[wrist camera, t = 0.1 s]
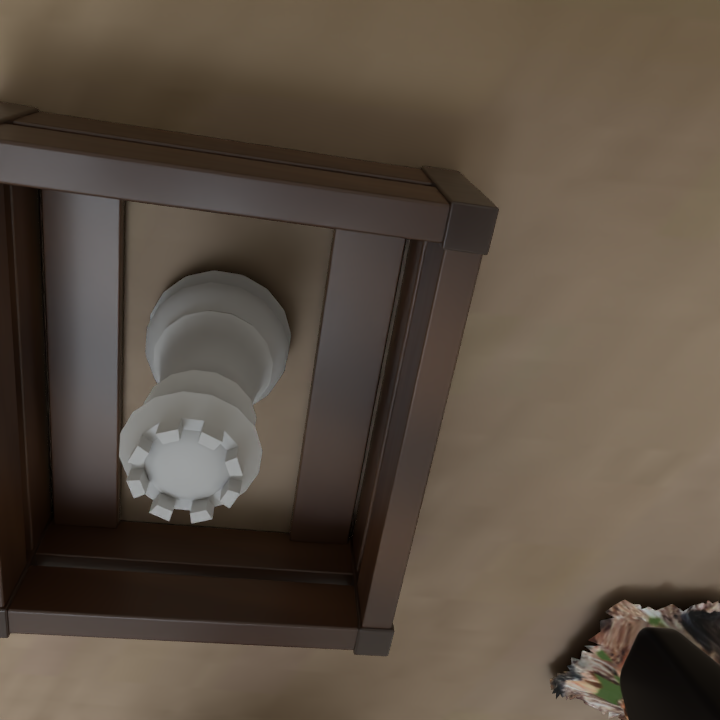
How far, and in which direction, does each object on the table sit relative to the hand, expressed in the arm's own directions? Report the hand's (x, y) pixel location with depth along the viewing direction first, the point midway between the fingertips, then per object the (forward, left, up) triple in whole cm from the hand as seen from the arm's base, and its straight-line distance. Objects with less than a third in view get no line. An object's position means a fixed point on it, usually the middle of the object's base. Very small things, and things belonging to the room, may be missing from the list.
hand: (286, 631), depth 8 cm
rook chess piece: (-3, +2, -15) cm, 15 cm away
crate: (-4, +2, -15) cm, 15 cm away
